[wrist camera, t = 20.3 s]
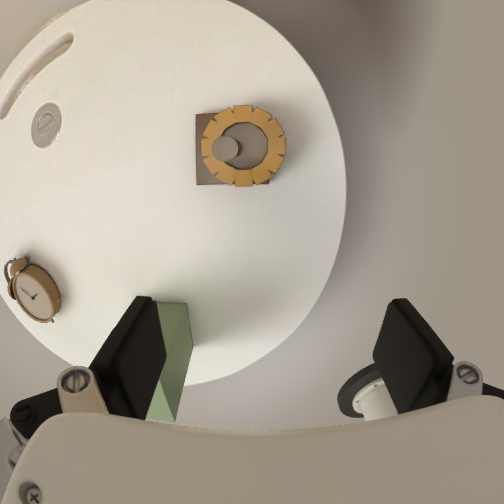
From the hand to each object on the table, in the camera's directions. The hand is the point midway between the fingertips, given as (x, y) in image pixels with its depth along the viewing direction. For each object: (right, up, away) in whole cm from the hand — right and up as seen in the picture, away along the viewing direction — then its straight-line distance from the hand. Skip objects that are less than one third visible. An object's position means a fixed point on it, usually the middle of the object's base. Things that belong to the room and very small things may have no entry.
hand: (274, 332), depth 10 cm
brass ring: (-2, +15, +20) cm, 25 cm away
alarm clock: (-43, -3, +30) cm, 53 cm away
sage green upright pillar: (-15, -9, +32) cm, 37 cm away
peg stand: (-3, +16, +22) cm, 28 cm away
